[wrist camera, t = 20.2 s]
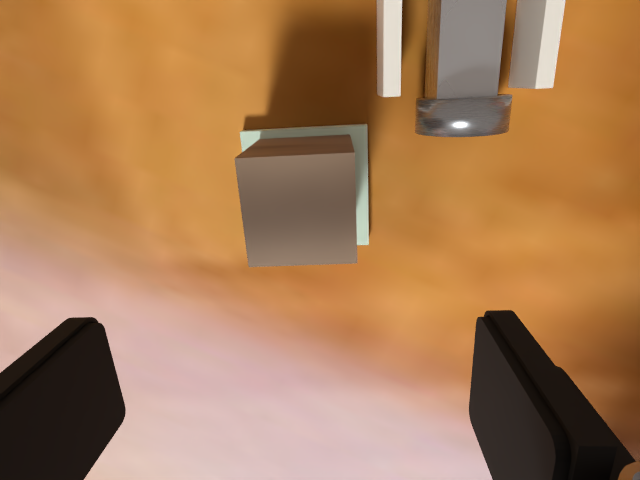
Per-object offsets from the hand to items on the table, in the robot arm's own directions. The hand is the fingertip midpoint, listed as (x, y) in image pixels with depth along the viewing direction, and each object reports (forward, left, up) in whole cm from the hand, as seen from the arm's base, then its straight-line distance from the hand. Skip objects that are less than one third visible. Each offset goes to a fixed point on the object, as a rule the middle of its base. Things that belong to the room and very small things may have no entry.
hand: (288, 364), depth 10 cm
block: (+1, 0, -15) cm, 15 cm away
